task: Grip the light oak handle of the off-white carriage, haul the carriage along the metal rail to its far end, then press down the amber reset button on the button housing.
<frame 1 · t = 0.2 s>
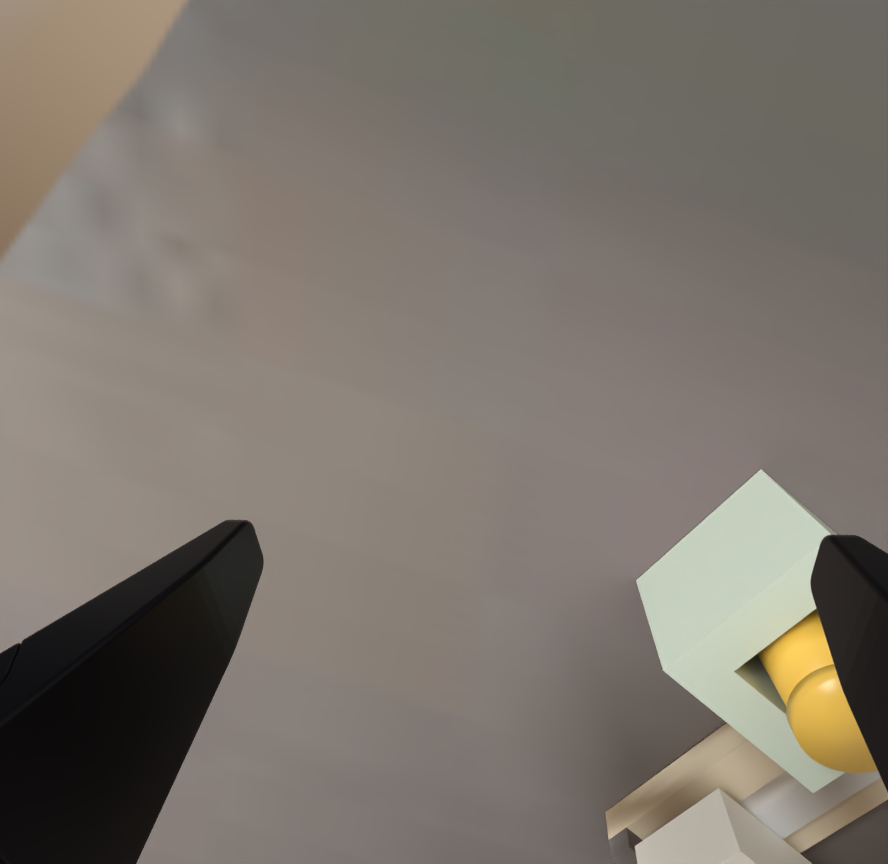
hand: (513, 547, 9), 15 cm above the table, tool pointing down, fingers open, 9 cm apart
rail: (792, 749, 27), on the table
reset button: (816, 665, 19), point 6 cm above the table, slide at 0.0 cm
button housing: (756, 578, 25), on the table
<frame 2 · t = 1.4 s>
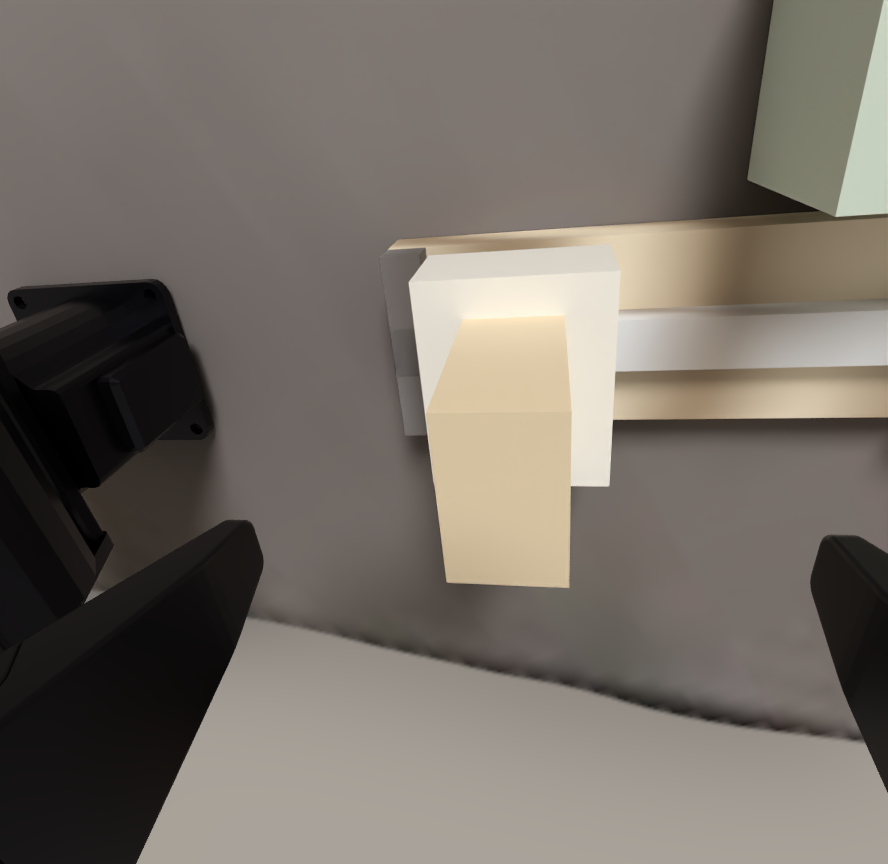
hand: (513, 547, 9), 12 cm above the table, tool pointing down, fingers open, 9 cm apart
rail: (677, 316, 19), on the table
carriage: (513, 410, 14), point 6 cm above the table, slide at -5.0 cm
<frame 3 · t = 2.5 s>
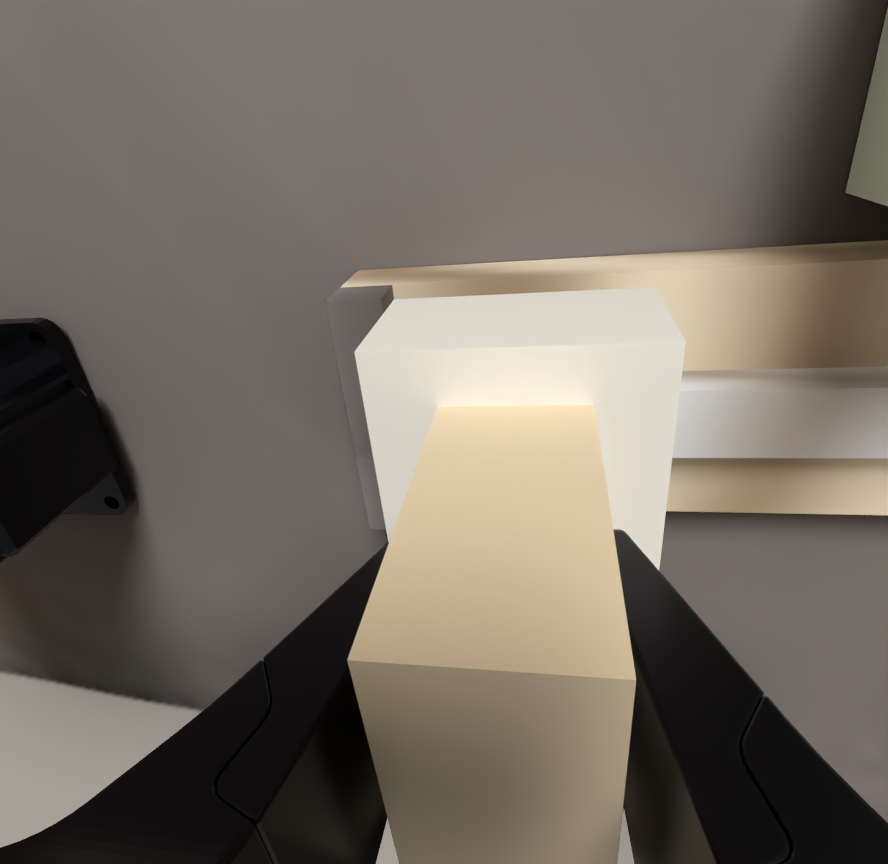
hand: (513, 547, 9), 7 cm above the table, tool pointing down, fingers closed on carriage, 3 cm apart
rail: (735, 374, 14), on the table
carriage: (514, 547, 9), point 7 cm above the table, slide at -5.0 cm, touching gripper
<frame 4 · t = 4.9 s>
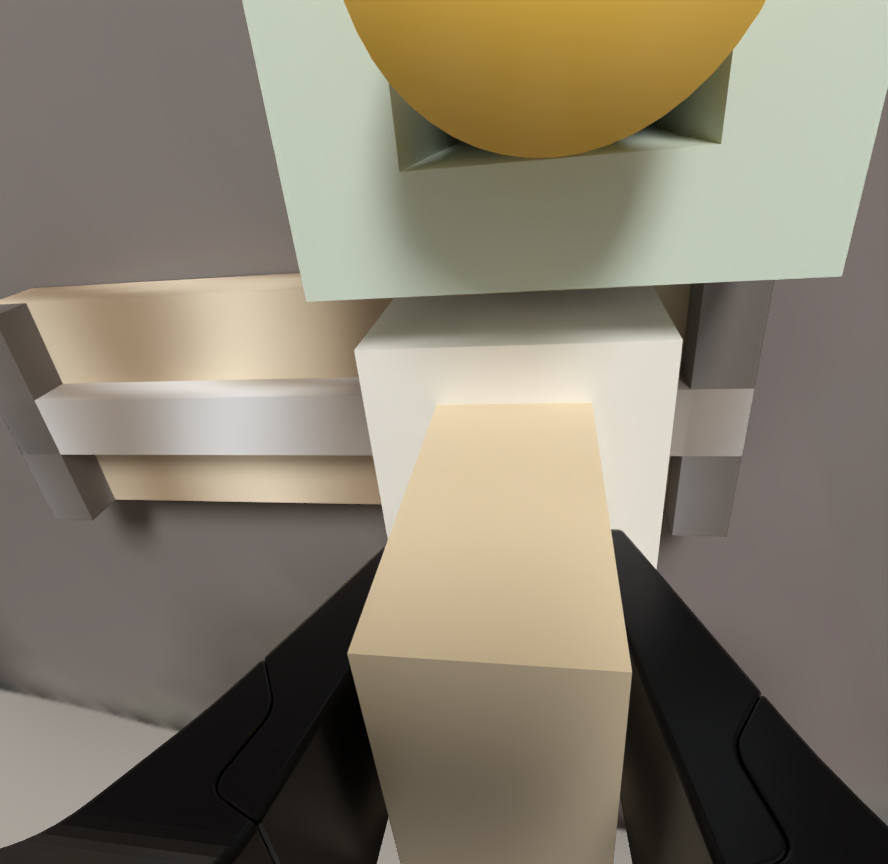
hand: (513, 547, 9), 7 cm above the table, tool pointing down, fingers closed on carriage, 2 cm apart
rail: (363, 381, 16), on the table
carriage: (513, 544, 9), point 7 cm above the table, slide at 4.4 cm, touching gripper
button housing: (549, 22, 11), on the table
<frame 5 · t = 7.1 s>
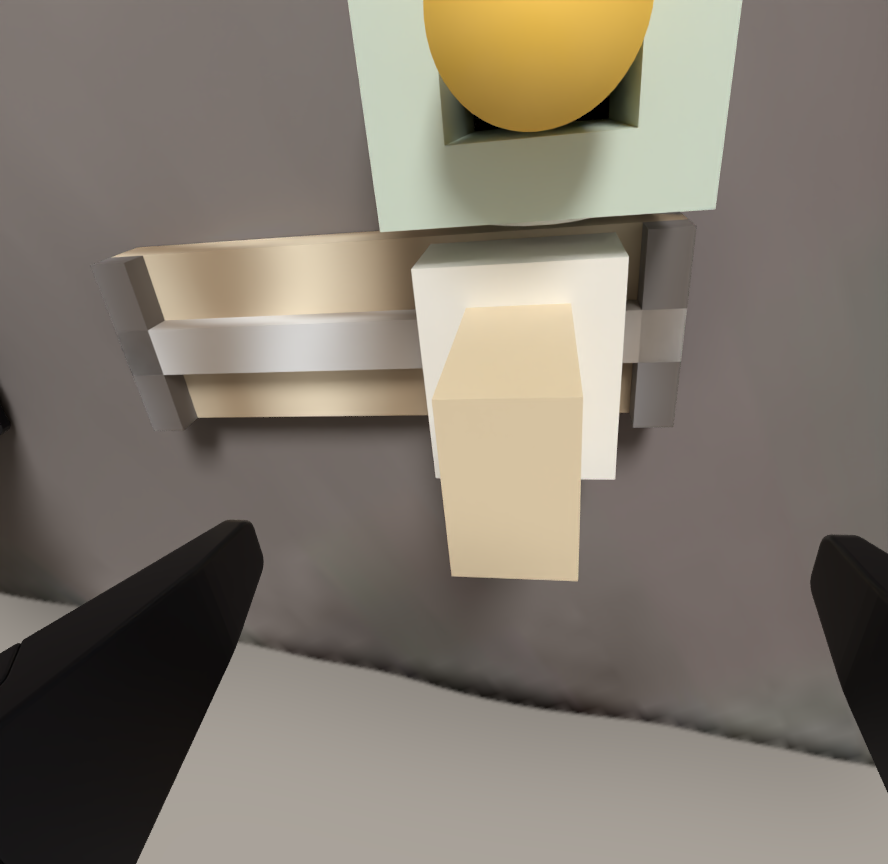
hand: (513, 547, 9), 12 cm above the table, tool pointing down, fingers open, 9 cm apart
rail: (397, 319, 20), on the table
reset button: (537, 23, 11), point 6 cm above the table, slide at 0.0 cm
carriage: (518, 400, 14), point 6 cm above the table, slide at 4.5 cm
button housing: (539, 46, 16), on the table
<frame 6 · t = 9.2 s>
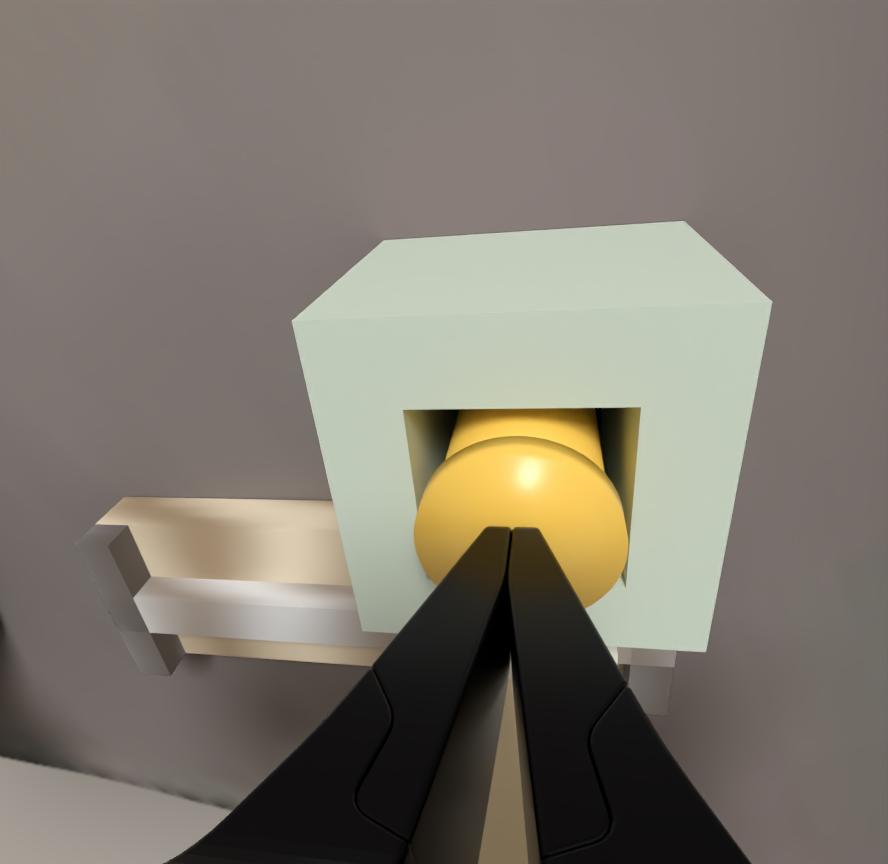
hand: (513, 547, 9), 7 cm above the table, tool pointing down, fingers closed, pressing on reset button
rail: (387, 572, 20), on the table
reset button: (523, 458, 12), point 4 cm above the table, slide at 1.2 cm, touching gripper
carriage: (505, 775, 14), point 7 cm above the table, slide at 4.5 cm
button housing: (529, 367, 15), on the table
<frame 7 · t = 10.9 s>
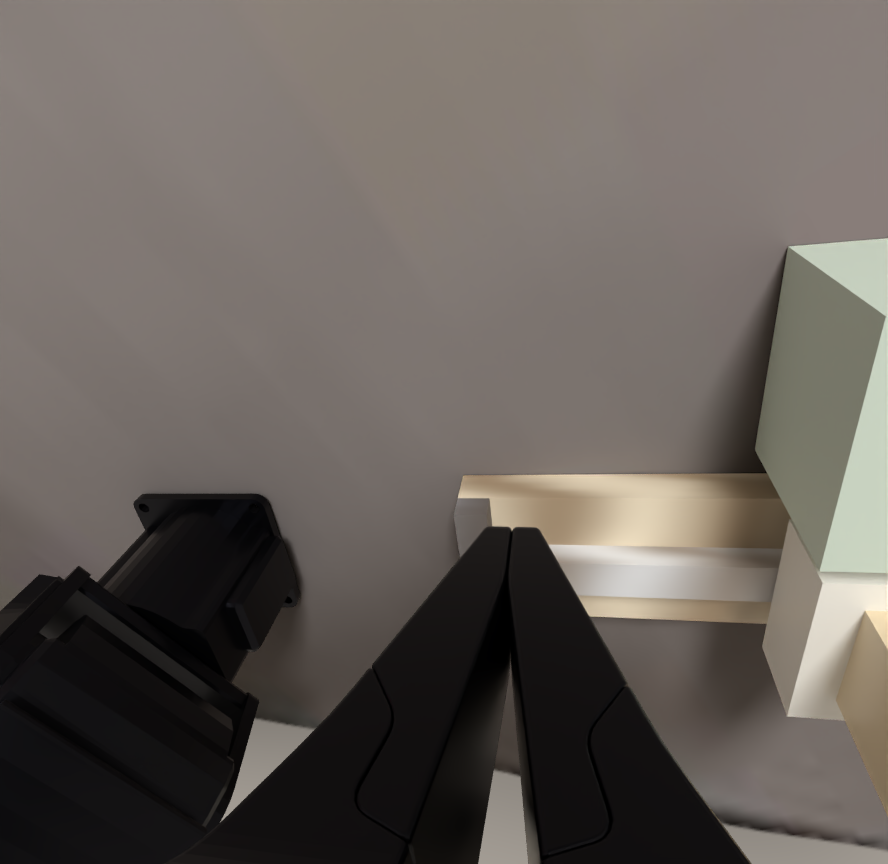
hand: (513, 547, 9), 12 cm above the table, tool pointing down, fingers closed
rail: (698, 537, 23), on the table
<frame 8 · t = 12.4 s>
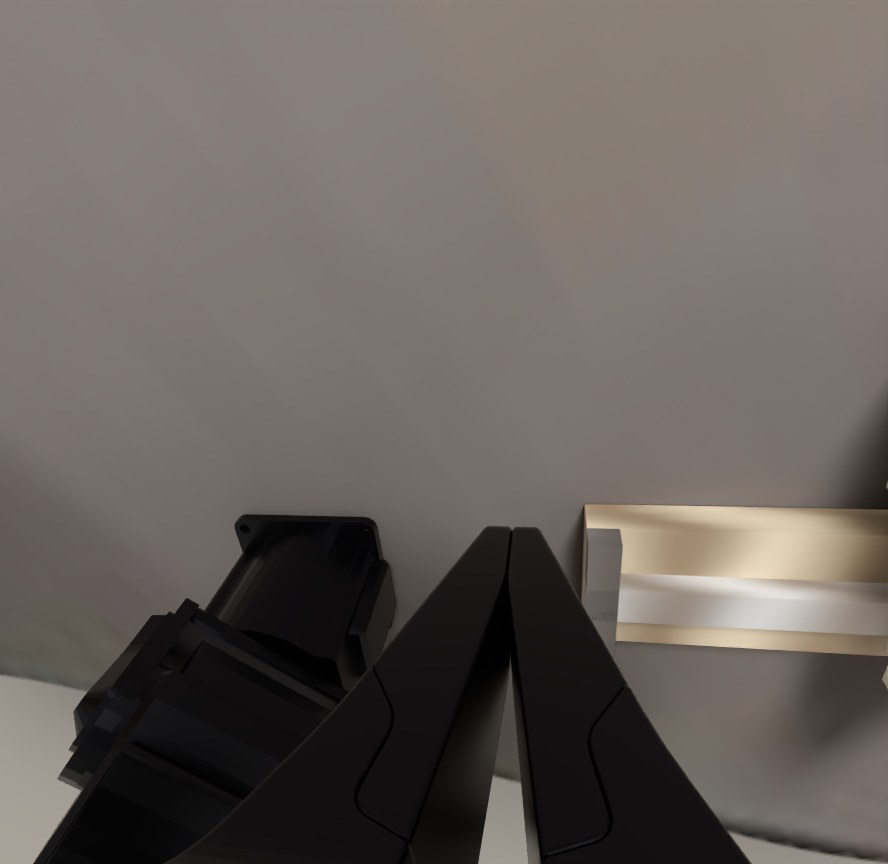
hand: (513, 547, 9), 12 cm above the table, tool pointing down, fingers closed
rail: (815, 569, 23), on the table
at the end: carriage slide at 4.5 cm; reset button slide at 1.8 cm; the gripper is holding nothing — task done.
